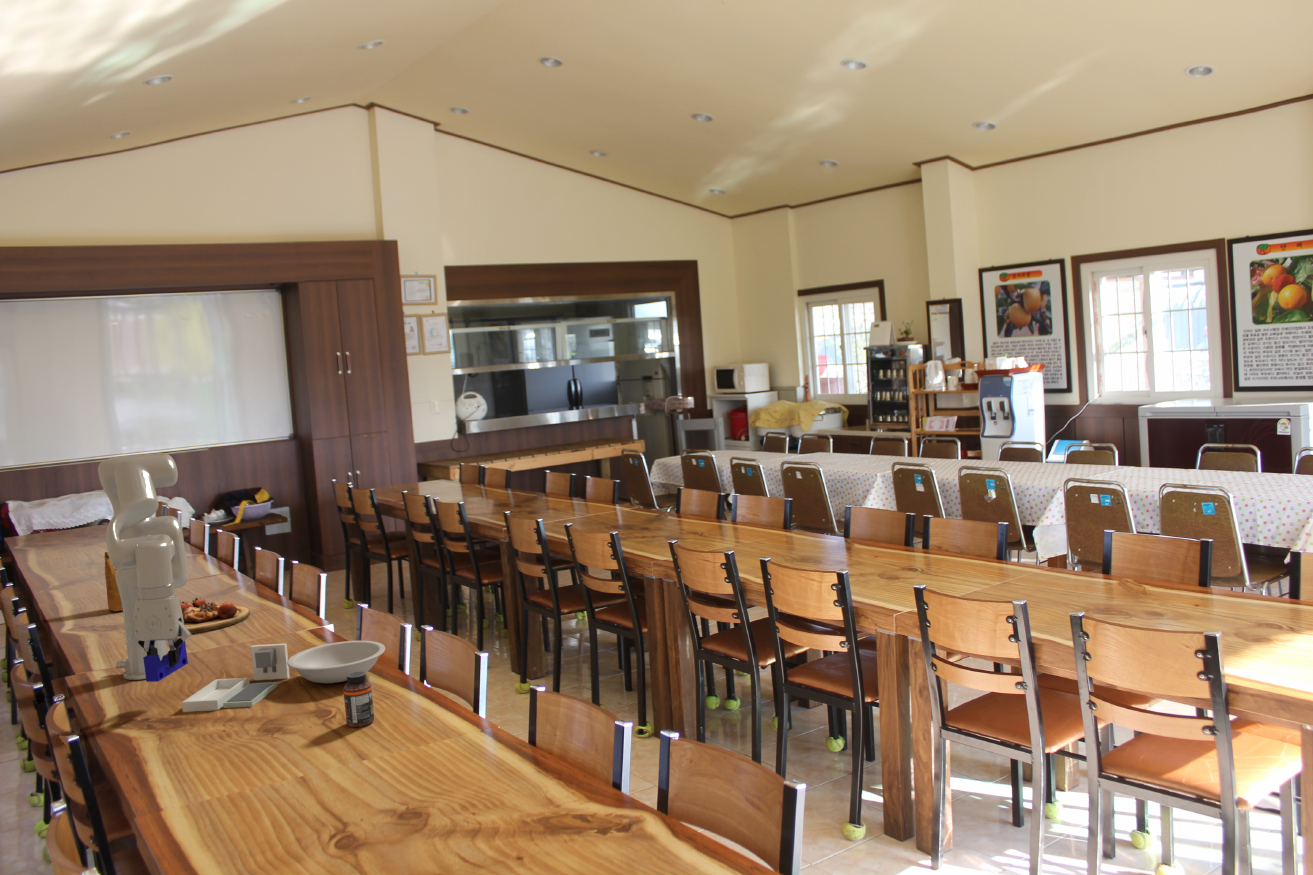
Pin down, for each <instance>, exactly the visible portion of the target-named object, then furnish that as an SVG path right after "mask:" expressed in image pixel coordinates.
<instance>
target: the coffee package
mask: <svg viewBox="0 0 1313 875" xmlns="http://www.w3.org/2000/svg"><path fill="white" fill-rule="evenodd" d="M103 558H104V561H105V562H104V576H105V577H104V579H105V584H106V585H105V586H106V587H105V588H106V600H107V607H108V611H112V612H123V608H122V602H121V597H120V593H119V589H118V586H117V582H116V576H115V574H116V570H117V569H115V568H114V567H113V566H112V565H111V563H110V559H109V555H108V551H105V552H104V557H103Z"/></svg>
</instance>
